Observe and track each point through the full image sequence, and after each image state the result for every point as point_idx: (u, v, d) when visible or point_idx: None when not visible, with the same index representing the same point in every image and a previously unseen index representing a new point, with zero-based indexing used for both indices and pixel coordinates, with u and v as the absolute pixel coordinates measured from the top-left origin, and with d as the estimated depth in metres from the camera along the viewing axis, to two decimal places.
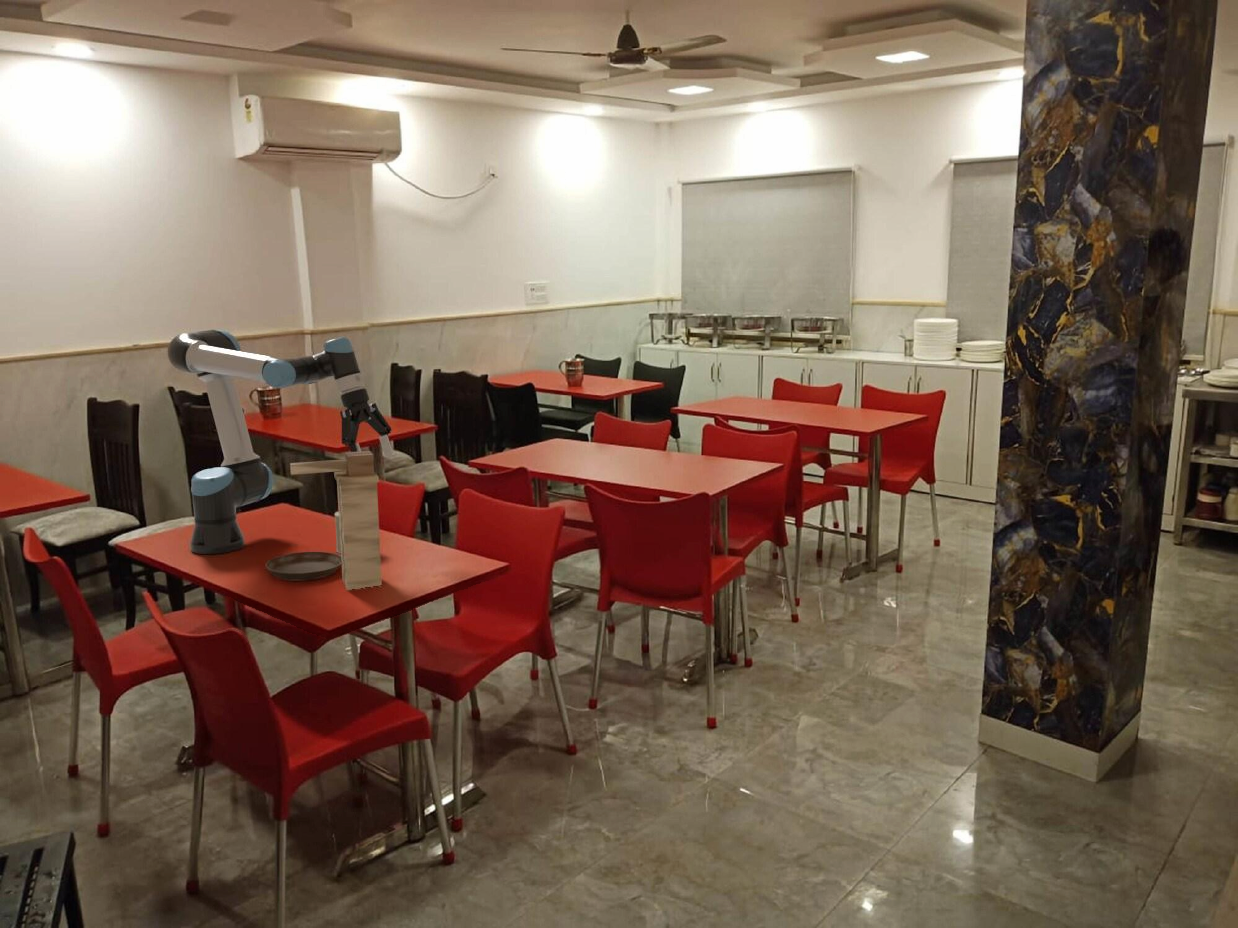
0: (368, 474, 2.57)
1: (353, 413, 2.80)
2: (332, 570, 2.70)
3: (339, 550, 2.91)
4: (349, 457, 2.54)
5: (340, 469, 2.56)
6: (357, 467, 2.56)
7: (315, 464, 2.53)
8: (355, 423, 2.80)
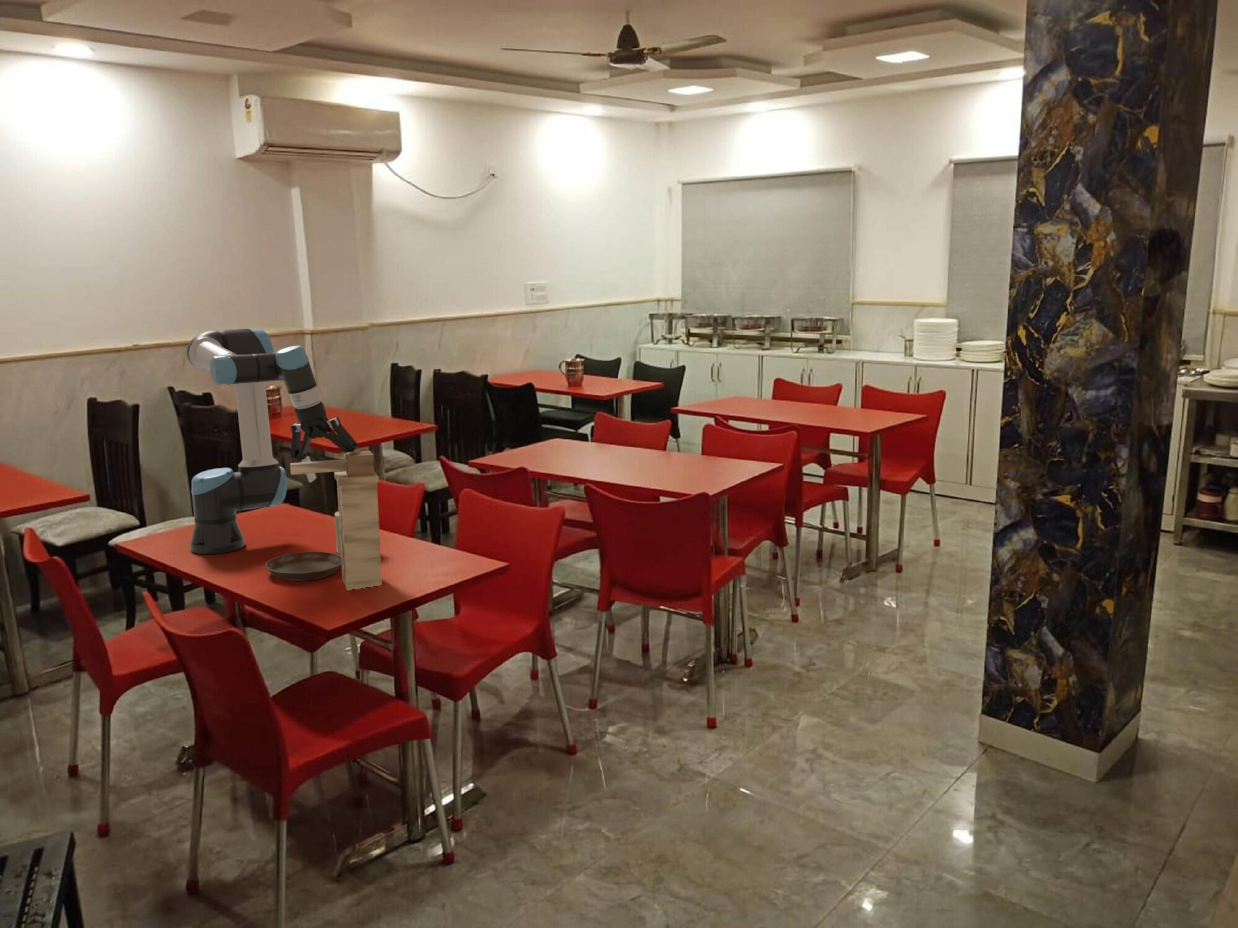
0: (368, 474, 2.57)
1: (302, 429, 2.63)
2: (332, 570, 2.70)
3: (339, 550, 2.91)
4: (349, 457, 2.54)
5: (340, 469, 2.56)
6: (357, 467, 2.56)
7: (315, 464, 2.53)
8: None
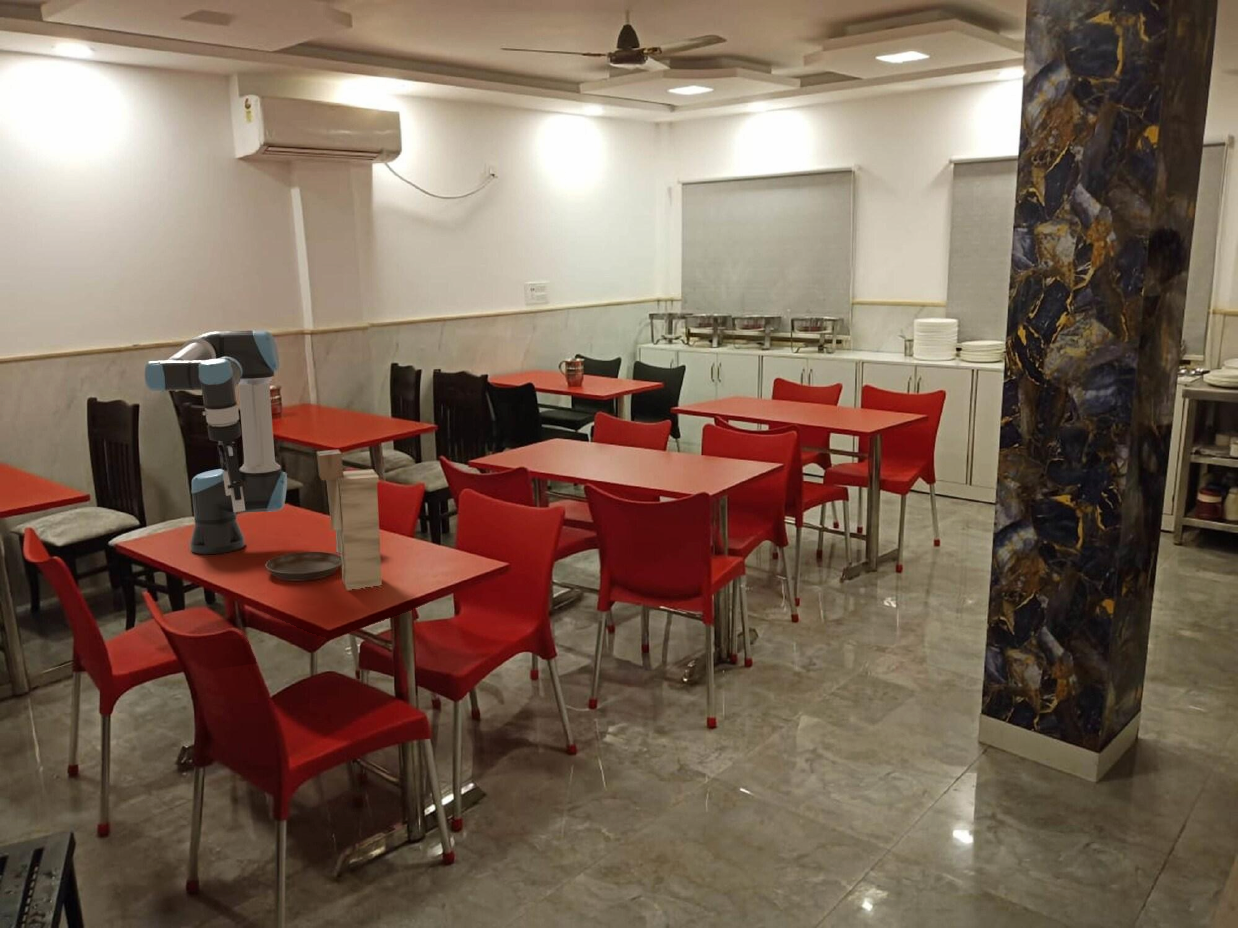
0: (340, 459, 2.53)
1: None
2: (332, 570, 2.70)
3: (339, 550, 2.91)
4: (322, 478, 2.52)
5: (336, 484, 2.55)
6: (333, 470, 2.53)
7: (331, 508, 2.56)
8: None
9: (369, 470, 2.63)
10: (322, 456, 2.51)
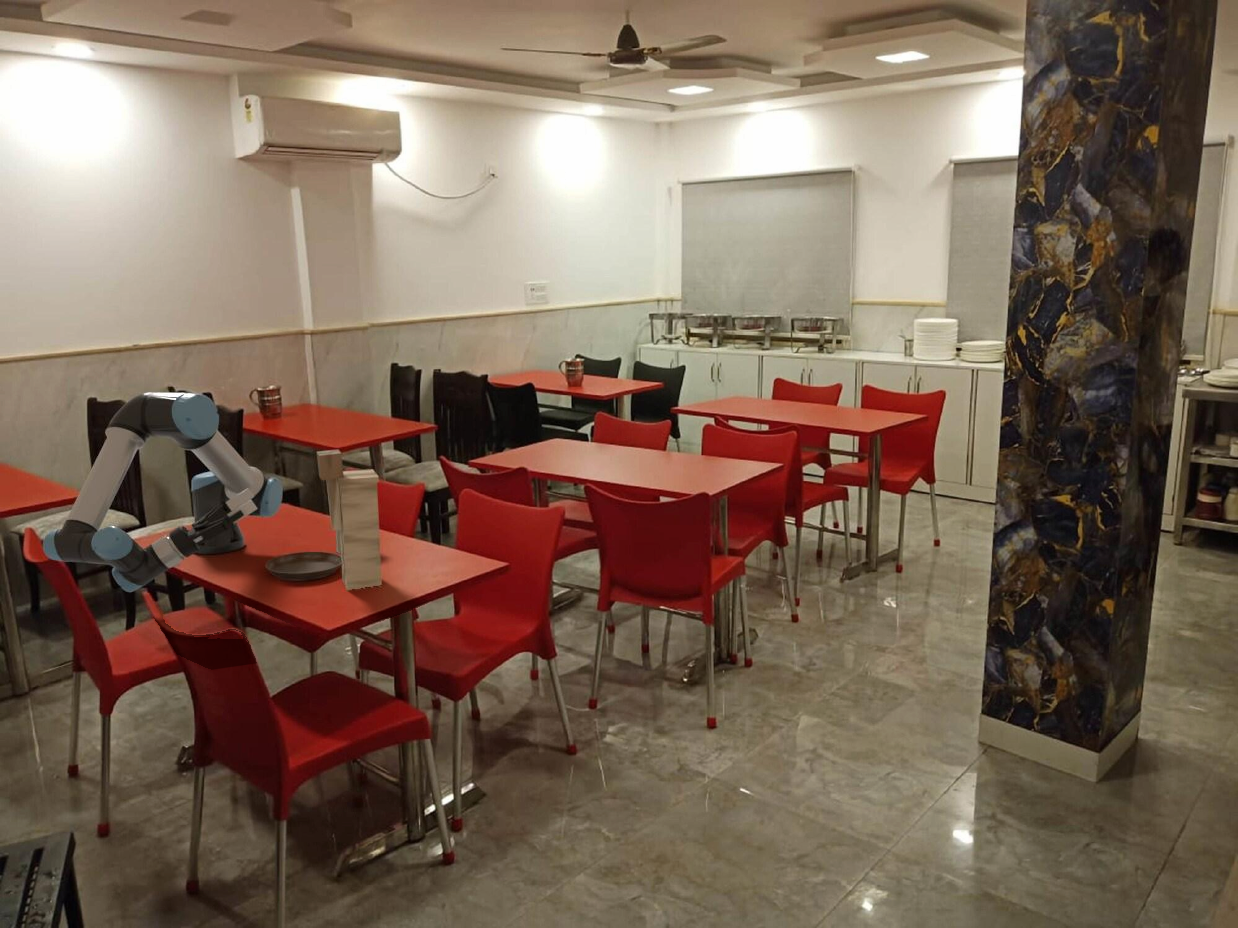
0: (340, 459, 2.53)
1: None
2: (332, 570, 2.70)
3: (339, 550, 2.91)
4: (322, 478, 2.52)
5: (336, 484, 2.55)
6: (333, 470, 2.53)
7: (331, 508, 2.56)
8: None
9: (369, 470, 2.63)
10: (322, 456, 2.51)
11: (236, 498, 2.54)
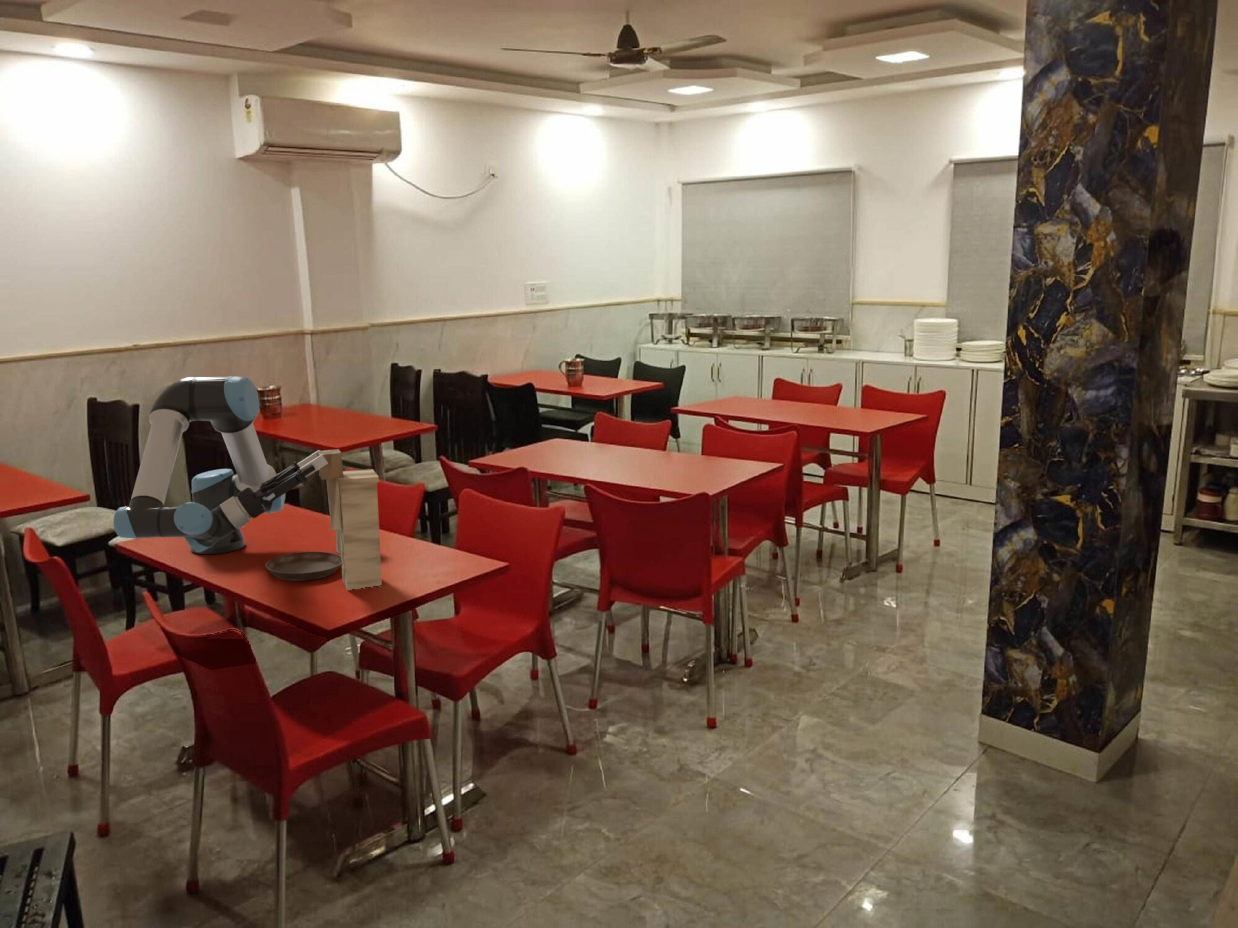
0: (340, 458, 2.54)
1: None
2: (332, 570, 2.70)
3: (339, 550, 2.91)
4: (322, 478, 2.53)
5: (336, 483, 2.56)
6: (333, 469, 2.53)
7: (331, 507, 2.56)
8: None
9: (369, 470, 2.63)
10: None
11: (308, 460, 2.56)
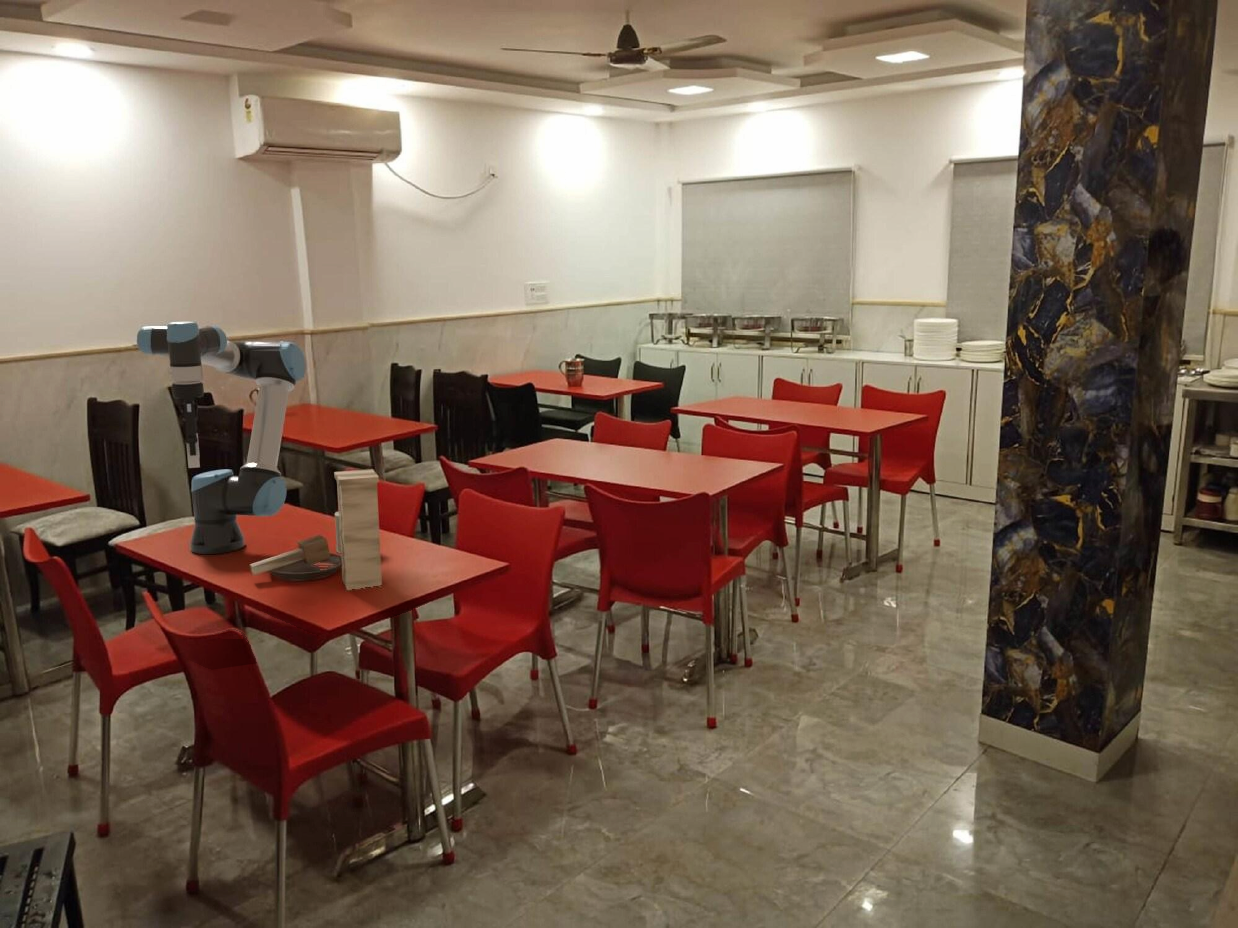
0: (325, 558, 2.74)
1: None
2: (333, 570, 2.70)
3: (339, 550, 2.91)
4: (305, 547, 2.70)
5: (298, 559, 2.71)
6: (314, 554, 2.71)
7: (274, 560, 2.67)
8: None
9: (369, 470, 2.63)
10: (326, 542, 2.73)
11: None
